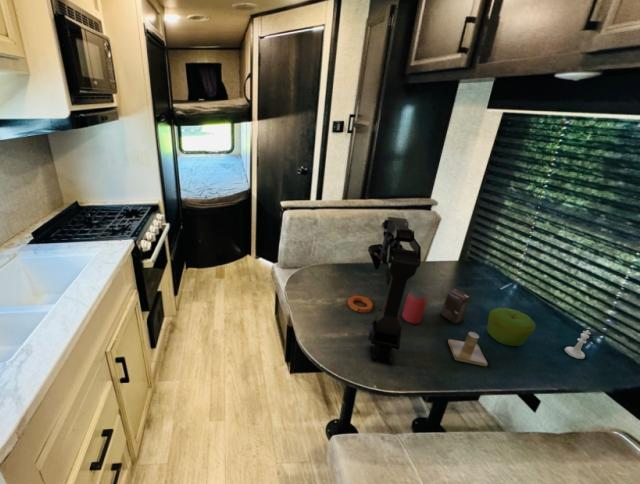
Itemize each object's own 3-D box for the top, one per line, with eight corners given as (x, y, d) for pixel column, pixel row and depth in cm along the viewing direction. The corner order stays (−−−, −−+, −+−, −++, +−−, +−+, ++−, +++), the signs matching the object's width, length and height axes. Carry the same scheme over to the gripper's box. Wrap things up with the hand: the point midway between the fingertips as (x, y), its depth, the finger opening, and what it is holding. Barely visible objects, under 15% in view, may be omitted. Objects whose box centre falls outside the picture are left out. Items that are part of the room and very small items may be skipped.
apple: (512, 329, 117) (523, 304, 113) (534, 353, 106) (548, 327, 102) (475, 325, 119) (485, 301, 115) (493, 349, 108) (505, 323, 104)
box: (440, 315, 125) (448, 290, 120) (447, 312, 126) (456, 287, 121) (454, 324, 120) (463, 299, 115) (462, 321, 121) (471, 296, 116)
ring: (374, 313, 126) (375, 309, 126) (351, 311, 127) (351, 308, 127) (368, 299, 135) (368, 296, 134) (346, 298, 135) (346, 295, 135)
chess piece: (586, 361, 103) (601, 338, 99) (566, 355, 106) (580, 332, 101) (582, 351, 107) (595, 328, 103) (562, 345, 109) (575, 323, 105)
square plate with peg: (486, 366, 102) (495, 347, 98) (455, 360, 104) (462, 341, 101) (477, 346, 109) (484, 328, 106) (447, 341, 112) (454, 323, 108)
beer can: (418, 326, 119) (426, 301, 114) (400, 319, 122) (406, 294, 117) (421, 317, 124) (429, 292, 118) (403, 311, 127) (410, 286, 122)
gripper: (425, 258, 112) (414, 289, 121) (396, 229, 127) (388, 259, 136) (396, 263, 111) (387, 294, 120) (370, 233, 126) (364, 263, 135)
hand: (382, 276), depth 128 cm, fingers open, 9 cm apart
